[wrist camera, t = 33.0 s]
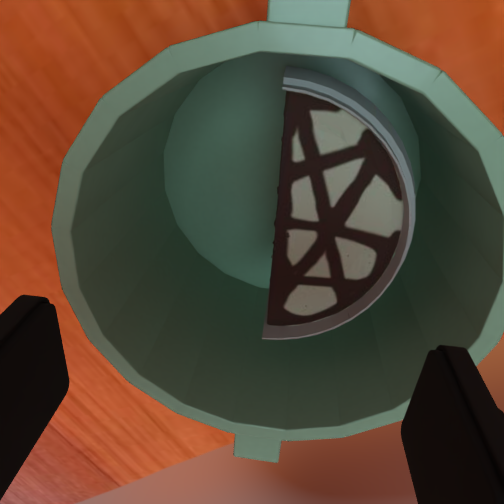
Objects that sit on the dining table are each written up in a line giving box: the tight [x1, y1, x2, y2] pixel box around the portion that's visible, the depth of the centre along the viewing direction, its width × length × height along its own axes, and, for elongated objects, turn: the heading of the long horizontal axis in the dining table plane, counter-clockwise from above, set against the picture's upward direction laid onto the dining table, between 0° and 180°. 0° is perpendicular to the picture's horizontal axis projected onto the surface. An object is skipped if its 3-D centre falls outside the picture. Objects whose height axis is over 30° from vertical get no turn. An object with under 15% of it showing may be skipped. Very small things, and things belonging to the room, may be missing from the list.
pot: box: [51, 0, 504, 463], centre depth 21 cm, size 18×23×12 cm
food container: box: [262, 66, 415, 340], centre depth 21 cm, size 12×6×10 cm, turn 177°
